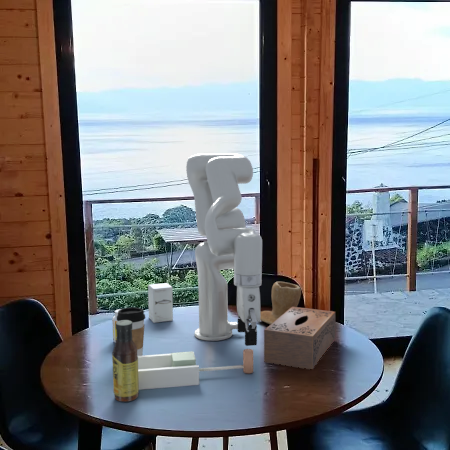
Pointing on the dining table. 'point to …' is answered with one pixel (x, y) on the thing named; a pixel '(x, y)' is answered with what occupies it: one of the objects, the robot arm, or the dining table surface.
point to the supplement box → (160, 302)
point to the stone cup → (281, 300)
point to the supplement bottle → (115, 325)
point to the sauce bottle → (125, 363)
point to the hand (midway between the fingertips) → (246, 338)
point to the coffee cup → (134, 325)
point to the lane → (164, 372)
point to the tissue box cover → (299, 337)
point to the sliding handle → (189, 360)
